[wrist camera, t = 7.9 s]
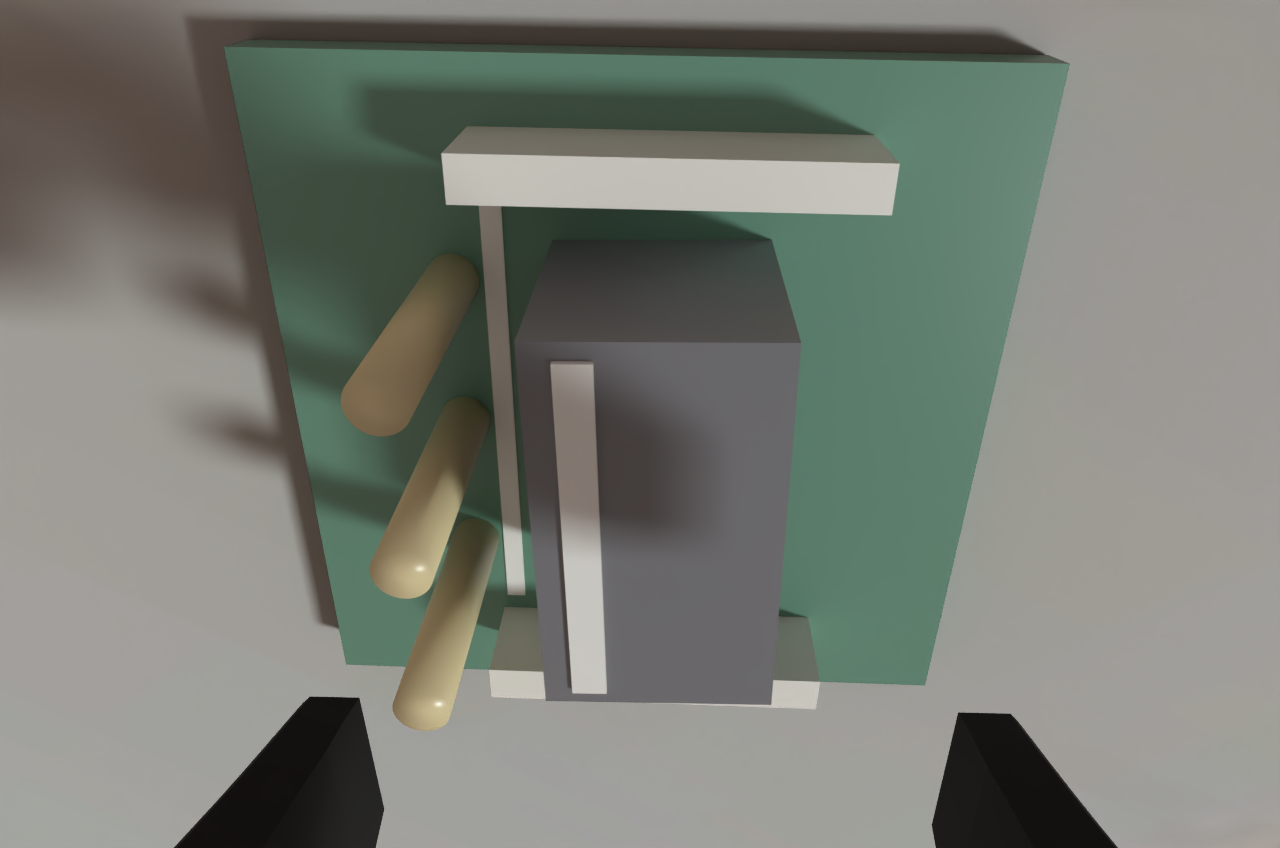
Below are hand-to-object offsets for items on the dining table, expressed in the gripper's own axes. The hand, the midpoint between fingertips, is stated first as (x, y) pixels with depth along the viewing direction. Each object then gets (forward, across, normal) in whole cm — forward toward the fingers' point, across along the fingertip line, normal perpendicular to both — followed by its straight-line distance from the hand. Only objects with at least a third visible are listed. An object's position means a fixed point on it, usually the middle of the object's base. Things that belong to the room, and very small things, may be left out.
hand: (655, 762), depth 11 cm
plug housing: (+8, 0, 0) cm, 8 cm away
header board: (+9, +1, 0) cm, 9 cm away
